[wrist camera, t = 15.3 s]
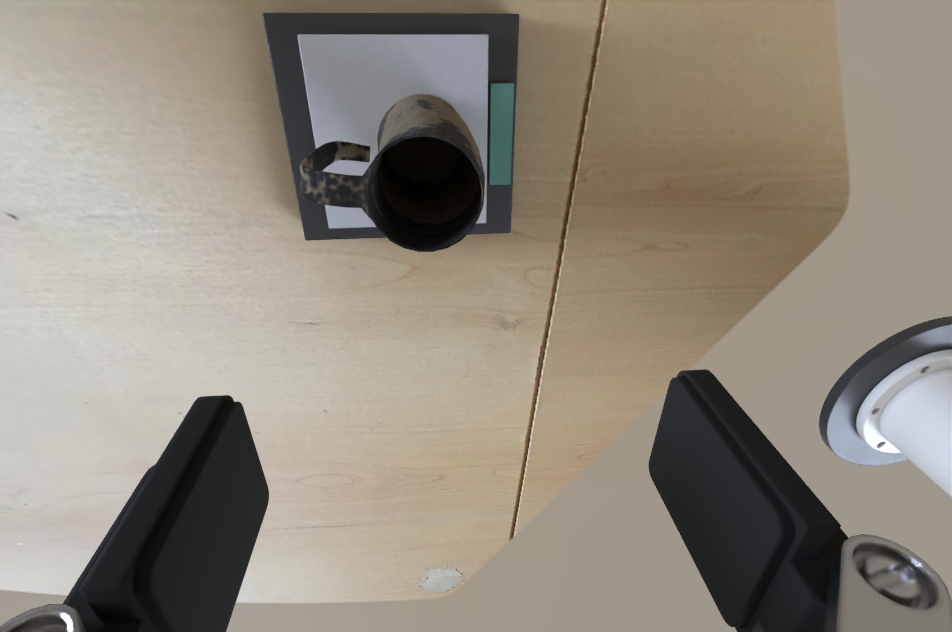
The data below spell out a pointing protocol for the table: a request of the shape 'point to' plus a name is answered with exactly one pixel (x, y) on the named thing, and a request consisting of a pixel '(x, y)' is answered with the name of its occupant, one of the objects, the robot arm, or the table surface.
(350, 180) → the mug
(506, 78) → the scale
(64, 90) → the table surface
